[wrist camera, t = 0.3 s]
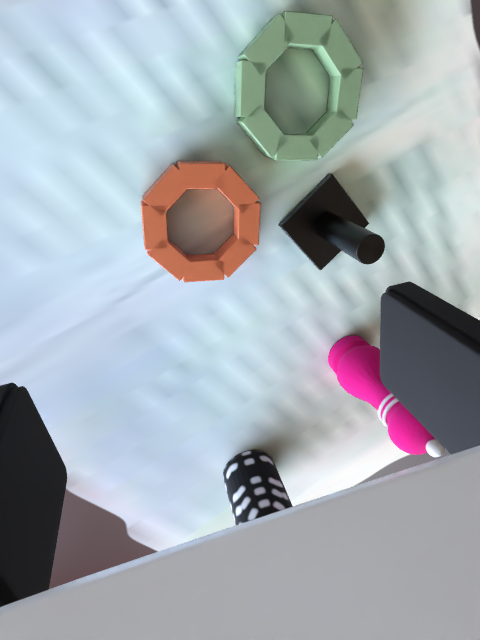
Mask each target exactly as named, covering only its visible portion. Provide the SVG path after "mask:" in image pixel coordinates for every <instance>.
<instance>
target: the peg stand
mask: <svg viewBox="0 0 480 640" xmlns="http://www.w3.org/2000/svg"><path fill="white" fill-rule="evenodd" d="M368 224H369V223H368V221H367V220H366V219H365V217H364V216H363V215H362V213H361V212H360V211H359V209H358V208H357V207H356V205H355V204H354V203H353V201H352V200H351V199H350V197H349V196H348V195H347V193H346V192H345V191H344V189H343V188H342V187H341V185H340V184H339V183H338V181H337V180H336V179H335V177H334V176H333V175H332V174H328V175H327V176H326V177H325V178H324V179H323V180H322V181H321V182H320V183H319V184H318V185H317V186H316V187H315V188H314V189H313V190H312V191H311V192H310V193H309V194H308V195H307V196H306V197H305V198H304V199H303V200H302V201H301V202H300V203H299V204H298V205H297V206H296V207H295V208H294V209H293V210H292V212H291V213H290V214H289V215H288V216H287V217H286V218H285V219H284V220H283V221H282V222H281V223H280V224H279V226H280V227H281V228H282V229H283V231H284V232H285V233H286V234H287V235H288V236H289V237H290V238H291V239H292V240H293V242H294V243H295V244H296V245H297V246H298V247H299V248H300V249H301V250H302V251H303V253H304V254H305V255H306V256H307V257H308V258H309V259H310V260H311V261H312V262H313V264H314V265H315V266H316V267H317V268H318V269H319V270H322V269H323V268H324V267H325V266H326V265H327V264H328V263H329V262H330V261H331V260H332V259H333V258H334V257H335V256H336V255H337V254H338V253H339V252H340V251H341V250H342V251H344V252H345V253H347V254H348V255H350V256H351V257H353V258H355V259H356V260H358V261H359V262H361V263H363V264H372V263H374V262H376V261H377V260H379V258H380V257H381V256H382V254H383V252H384V248H385V243H384V240H383V239H382V237H381V236H379V235H377V234H375V233H373V232H371V231H369V230H367V229H365V227H366V226H367V225H368Z"/></svg>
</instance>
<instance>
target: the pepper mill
mask: <svg viewBox="0 0 480 640" xmlns="http://www.w3.org/2000/svg"><path fill="white" fill-rule="evenodd" d="M328 362H329V365H330V367H331V368H332V369H333V371H334V372H335V373H336V374H337V379H338V381H339V383H340V385H341V386H342V387H343V388H344V389H345V390H346V391H347V392H348V393H349V394H351V395H353V396H354V397H357V398H359V399H362V400H364V401H366V402H368V403H370V404H371V405H372V406H373V407H375V408H376V409H377V411H378V417H379V419H380V420H381V421H382V422H383V424H384V425H385V426H386V427H387V428H388V433H389V436H390V439H391V440H392V441H393V443H394V444H395V445H396V446H397V447H398V448H399V449H401V450H403V451H404V452H406V453H409V454H416V455H417V454H418V455H419V454H425V453H429V454H430V455H431V456H433V457H440V456H442V455H443V453H444V451H445V448H444V447H443V446H442V445H441V444H440V443H439V442H438V441H437V440H436V439H435V438H434V437H433V436H432V435H431V434H430V432H429V431H428V430H427V429H426V428H425V427H424V426H423V425H422V424H421V423H420V422H419V421H418V420H417V419H416V418H415V417H414V416H413V415H412V414H411V413H410V412H409V411H408V410H407V409H406V408H405V407H404V406H403V405H402V404H401V403H400V402H399V401H398V400H397V399H396V398H395V396H394V395H393V394H392V393H391V392H390V391H389V390H388V389H387V388H386V387H385V386H384V385H383V383H382V381H381V378H380V349H379V348H377V347H375V346H371V345H370V344H369V343H368V342H367V341H365V340H364V339H363V338H362V337H360V336H355V335H353V336H347V337H344V338H342V339H340V340H339V341H337V342H336V343H335V344H334V345H333V347H332V348H331V350H330V353H329V356H328Z"/></svg>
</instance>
